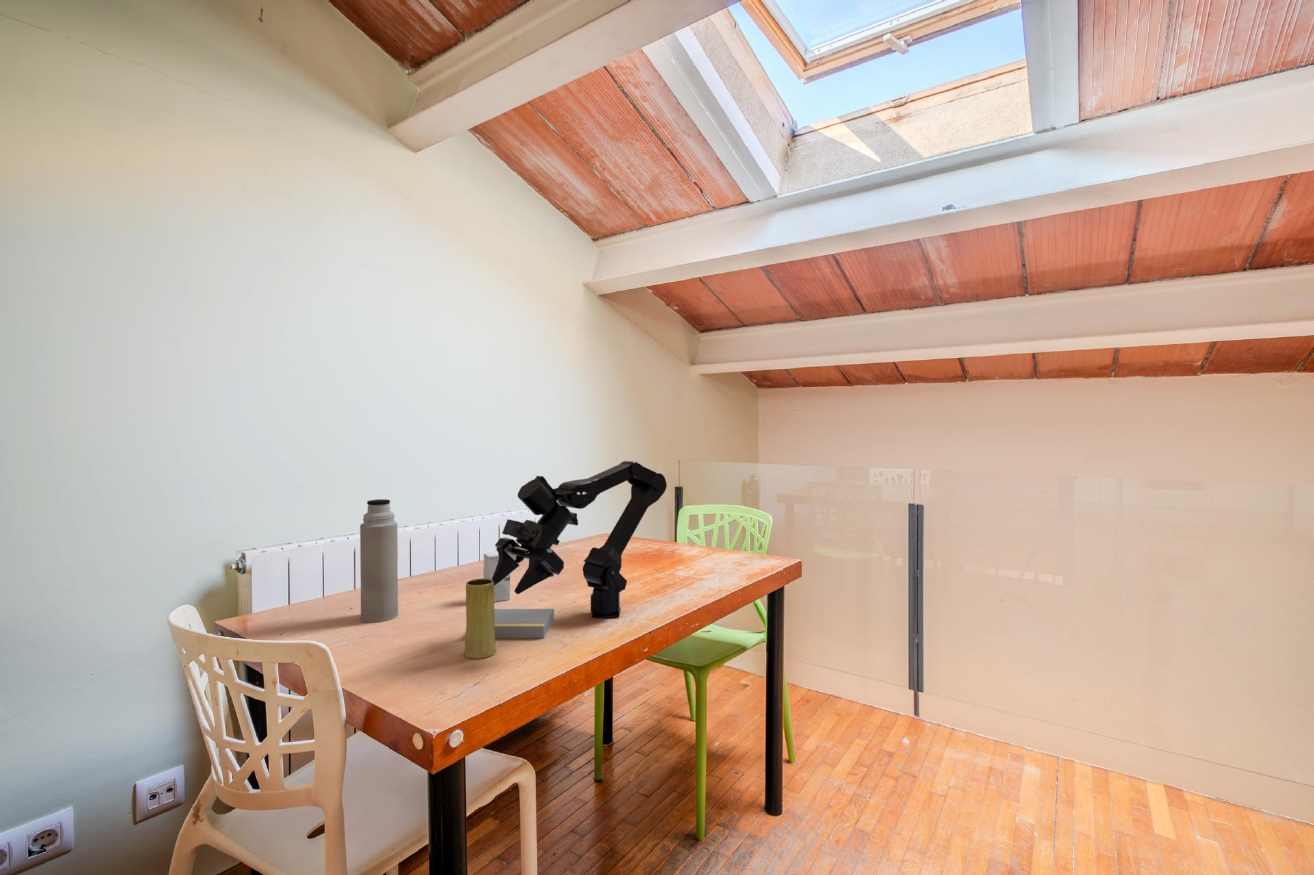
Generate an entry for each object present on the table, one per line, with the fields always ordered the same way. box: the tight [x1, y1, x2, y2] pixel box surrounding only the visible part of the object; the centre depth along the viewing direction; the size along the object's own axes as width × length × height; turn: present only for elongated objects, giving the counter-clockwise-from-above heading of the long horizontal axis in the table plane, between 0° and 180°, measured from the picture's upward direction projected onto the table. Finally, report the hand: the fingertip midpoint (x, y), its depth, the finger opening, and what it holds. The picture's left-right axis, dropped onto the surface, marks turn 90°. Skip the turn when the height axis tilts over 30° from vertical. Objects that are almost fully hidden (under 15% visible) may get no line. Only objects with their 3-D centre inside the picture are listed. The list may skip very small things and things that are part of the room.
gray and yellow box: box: [494, 608, 555, 639], centre depth 126 cm, size 16×12×3 cm
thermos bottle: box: [359, 498, 399, 623], centre depth 134 cm, size 8×8×28 cm
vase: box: [463, 578, 497, 660], centre depth 112 cm, size 6×6×14 cm
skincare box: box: [483, 551, 511, 603], centre depth 148 cm, size 6×4×12 cm
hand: (503, 588), depth 116 cm, fingers open, 9 cm apart
